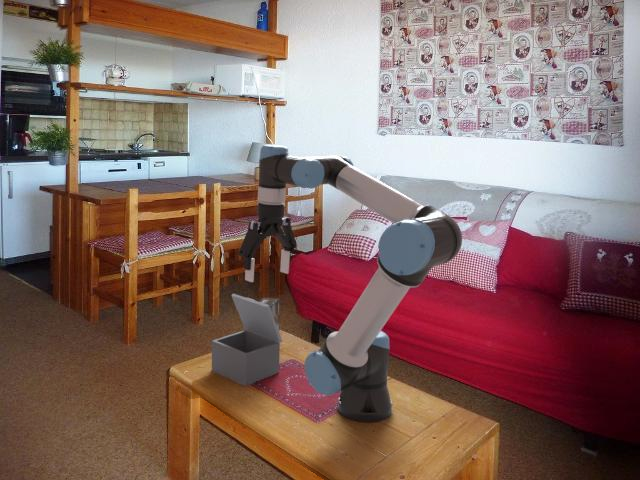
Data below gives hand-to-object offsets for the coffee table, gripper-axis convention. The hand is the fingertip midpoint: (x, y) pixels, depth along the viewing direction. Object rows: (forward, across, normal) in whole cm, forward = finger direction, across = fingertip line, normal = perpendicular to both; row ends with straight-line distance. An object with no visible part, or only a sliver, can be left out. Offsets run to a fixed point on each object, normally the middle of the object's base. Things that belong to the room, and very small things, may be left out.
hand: (267, 276), depth 172 cm
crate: (+36, -6, -14) cm, 39 cm away
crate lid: (+19, -10, -15) cm, 26 cm away
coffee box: (+37, -27, -26) cm, 52 cm away
